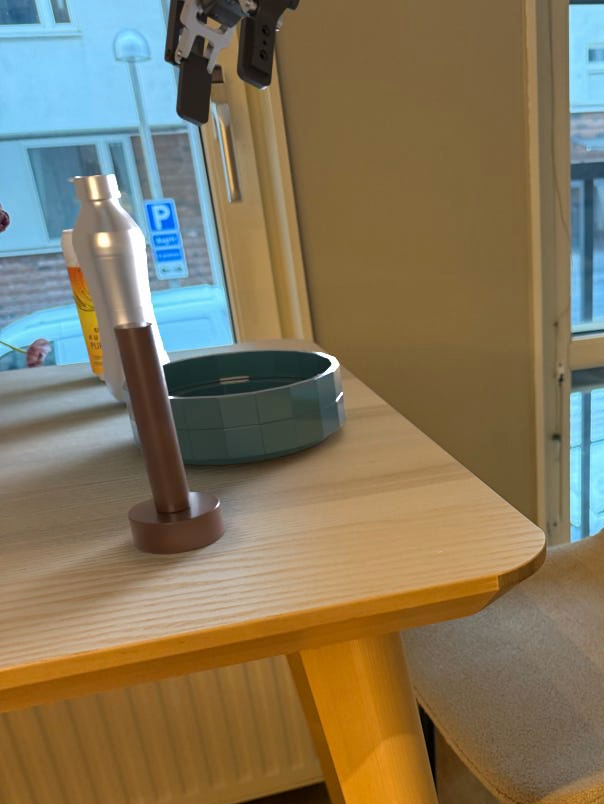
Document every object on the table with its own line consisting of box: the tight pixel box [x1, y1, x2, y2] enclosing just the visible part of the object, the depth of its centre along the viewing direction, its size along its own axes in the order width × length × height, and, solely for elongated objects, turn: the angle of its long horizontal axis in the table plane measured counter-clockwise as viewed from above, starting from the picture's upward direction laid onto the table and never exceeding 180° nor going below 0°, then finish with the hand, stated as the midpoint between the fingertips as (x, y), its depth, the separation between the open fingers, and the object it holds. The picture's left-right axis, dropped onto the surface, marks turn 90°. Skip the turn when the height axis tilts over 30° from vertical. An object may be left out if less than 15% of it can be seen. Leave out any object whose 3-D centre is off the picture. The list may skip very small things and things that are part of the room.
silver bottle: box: [72, 174, 171, 403], centre depth 87 cm, size 6×7×20 cm
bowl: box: [122, 348, 347, 466], centre depth 77 cm, size 17×17×6 cm
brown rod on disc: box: [114, 322, 226, 555], centre depth 56 cm, size 6×6×13 cm
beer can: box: [60, 228, 105, 382], centre depth 99 cm, size 6×6×15 cm
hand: (221, 102), depth 64 cm, fingers open, 8 cm apart
